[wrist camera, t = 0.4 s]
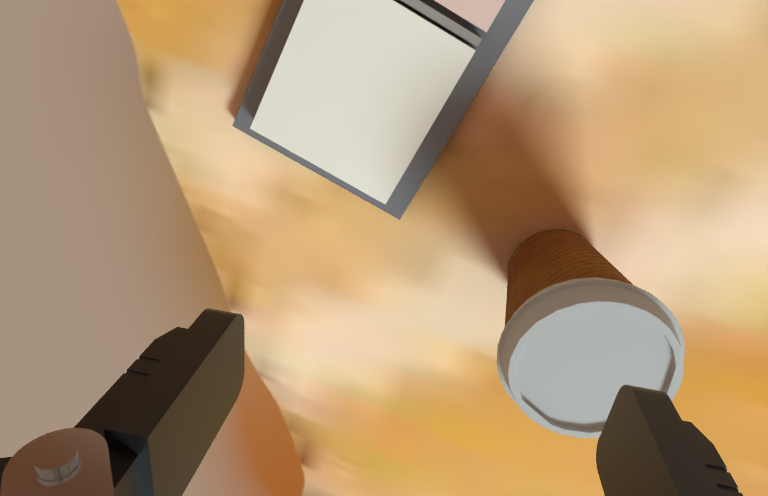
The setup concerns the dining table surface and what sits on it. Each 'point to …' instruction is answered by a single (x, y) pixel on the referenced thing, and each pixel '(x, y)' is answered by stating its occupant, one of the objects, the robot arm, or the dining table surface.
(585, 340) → the disposable coffee cup
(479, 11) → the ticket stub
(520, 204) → the dining table surface
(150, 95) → the dining table surface
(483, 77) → the ticket base
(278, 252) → the dining table surface
